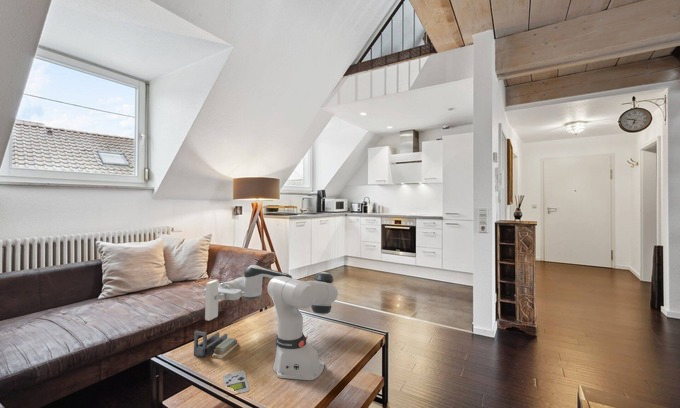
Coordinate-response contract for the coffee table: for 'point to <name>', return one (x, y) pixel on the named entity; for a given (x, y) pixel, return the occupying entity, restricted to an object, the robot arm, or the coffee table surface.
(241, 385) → the handheld gaming device
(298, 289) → the robot arm
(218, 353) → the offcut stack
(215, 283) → the white rectangular slab
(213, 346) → the slot rack
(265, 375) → the coffee table surface
